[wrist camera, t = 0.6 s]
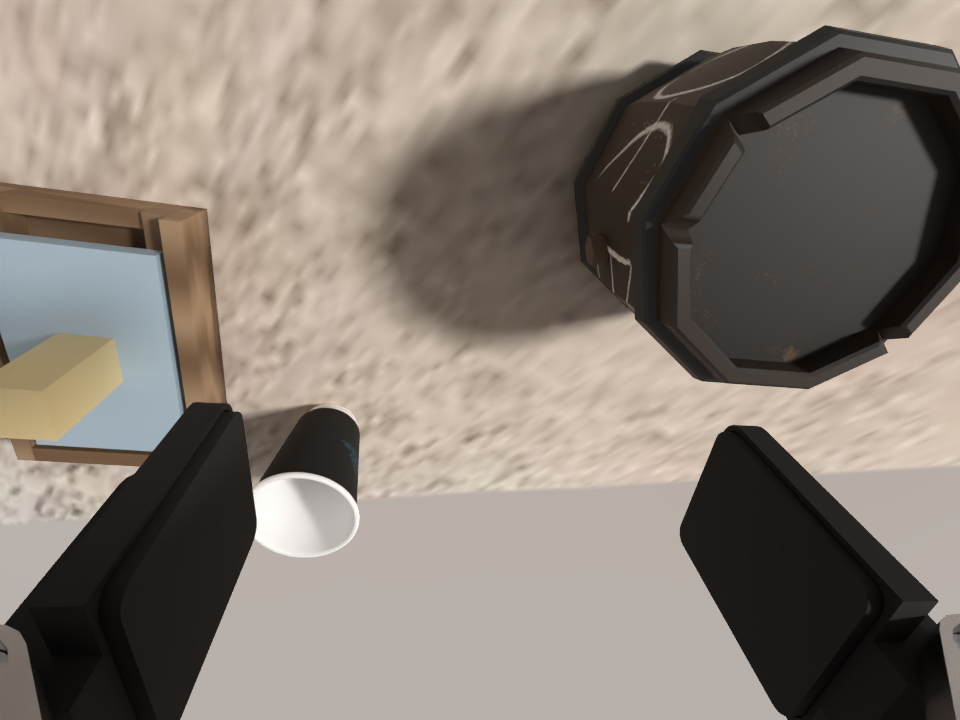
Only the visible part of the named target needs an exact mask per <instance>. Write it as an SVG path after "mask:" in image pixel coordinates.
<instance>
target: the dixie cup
mask: <svg viewBox="0 0 960 720" xmlns="http://www.w3.org/2000/svg"><path fill="white" fill-rule="evenodd" d="M359 439H360V433H359V428H358V426H357V421H356V419H355V417H354V416H353V415H352V413H351V412H350V411H348V410H347V409H345V408H343V407H341V406H339V405H335V404H321V405H318V406H315V407H313V408H312V409H310V410H309V411H308V412H307V413H306V414H304V415H303V416H302V417H301V418H300V420H299V421H298V423H297V424H296V426H295V427H294V429H293V430H292V432H291V433H290V435H289V436H288V438H287V440H286V441H285V443H284V444H283V446H282V447H281V449H280V450H279V452H278V453H277V455H276V457H275V458H274V460H273V461H272V463H271V464H270V466H269V467H268V469H267V470H266V472H265V474H264V475H263V477H262V478H261V480H260V481H259V483H257V484H256V485H255V486H254V487H252V488H253V496H254V503H255V510H256V517H257V528H256V534H255V538H254V540H256V541H257V542H258V543H260V544H261V545H262V546H264V547H265V548H267V549H269V550H271V551H274V552H276V553H279V554H282V555H286V556H291V557H300V558H309V557H318V556H323V555H326V554H329V553H332V552H334V551H336V550H338V549H340V548H342V547H343V546H345V545H346V544H347V543H348V542H349V541H350V540H351V539H352V538H353V536H354V535H355V533H356V531H357V529H358V526H359V518H360V517H359V510H358V507H357V485H358V462H359Z"/></svg>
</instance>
